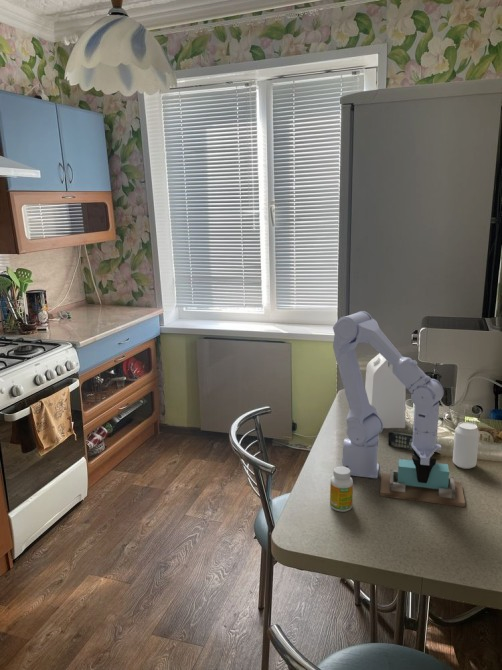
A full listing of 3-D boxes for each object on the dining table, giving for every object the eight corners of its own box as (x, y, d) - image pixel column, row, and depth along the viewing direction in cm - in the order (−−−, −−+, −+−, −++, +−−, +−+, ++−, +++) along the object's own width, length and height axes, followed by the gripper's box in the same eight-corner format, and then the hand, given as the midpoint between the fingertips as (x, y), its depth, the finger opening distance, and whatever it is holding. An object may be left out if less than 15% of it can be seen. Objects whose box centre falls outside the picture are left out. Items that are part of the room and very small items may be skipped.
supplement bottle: (338, 514, 123) (339, 477, 121) (325, 503, 128) (326, 468, 126) (356, 508, 126) (358, 472, 123) (343, 497, 130) (344, 462, 128)
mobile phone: (387, 432, 156) (439, 441, 149) (390, 428, 159) (441, 437, 151) (387, 447, 158) (438, 457, 150) (390, 443, 160) (440, 452, 153)
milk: (405, 427, 170) (409, 351, 164) (370, 428, 170) (373, 352, 164) (395, 413, 182) (399, 342, 175) (362, 413, 182) (365, 342, 175)
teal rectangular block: (397, 484, 132) (398, 466, 131) (397, 476, 136) (398, 459, 134) (447, 490, 129) (449, 472, 127) (446, 482, 132) (447, 464, 131)
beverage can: (478, 471, 142) (482, 430, 139) (454, 469, 143) (457, 429, 140) (473, 460, 148) (477, 421, 145) (450, 458, 149) (453, 420, 146)
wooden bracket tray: (380, 495, 131) (380, 485, 130) (381, 476, 140) (382, 466, 139) (464, 506, 125) (465, 495, 125) (460, 485, 135) (461, 475, 134)
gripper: (444, 442, 121) (440, 494, 124) (440, 418, 134) (436, 465, 138) (412, 439, 123) (409, 490, 126) (412, 415, 136) (409, 462, 139)
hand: (421, 477), depth 132 cm, fingers closed on teal rectangular block, 4 cm apart
